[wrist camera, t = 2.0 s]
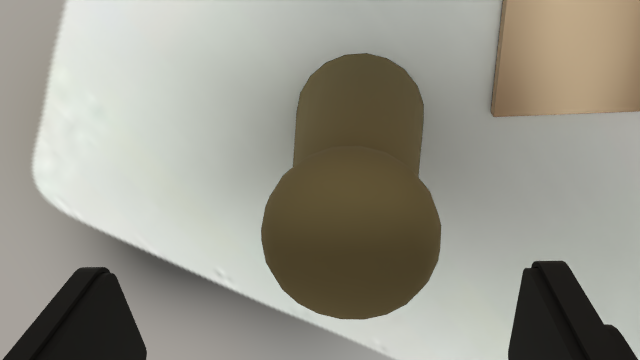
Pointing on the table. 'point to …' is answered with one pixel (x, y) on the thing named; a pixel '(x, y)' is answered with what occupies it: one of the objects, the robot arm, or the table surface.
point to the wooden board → (567, 57)
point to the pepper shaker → (354, 194)
